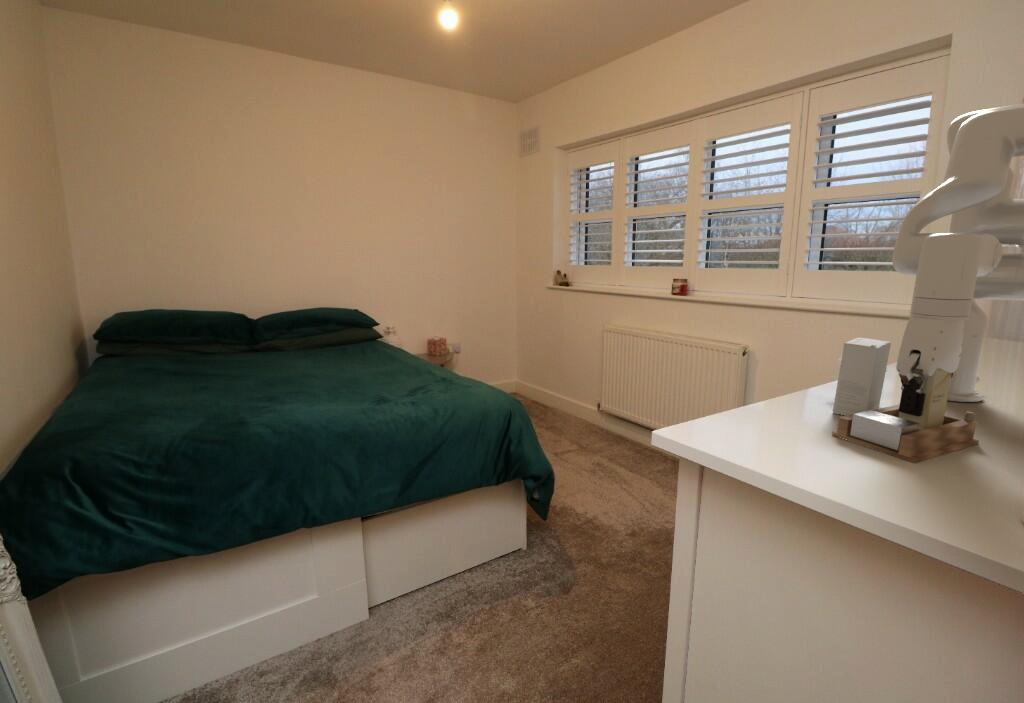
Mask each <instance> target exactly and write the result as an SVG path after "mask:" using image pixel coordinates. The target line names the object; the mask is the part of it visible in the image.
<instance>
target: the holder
mask: <svg viewBox="0 0 1024 703" xmlns="http://www.w3.org/2000/svg"><path fill="white" fill-rule="evenodd" d="M899 406H900V403H899V404H896V405H891V406H886V407H881V408H879V409H876V410H872V411H876V412H880V413H883V414H887V415H891V416H894V417H899ZM975 416H976V413H975V412H974V411H973V412H972V411H965V412H964V418H962V417H958V416H955V415H949V414H946V413H945V415H944V421H943V425H941V426H937V427H933V428H929V429H925V430H922V431H918V432H914V433H910V434H906V435H902V436H901V441H900V447H899V450H895V449H891V448H888V447H885V446H882V445H879V444H876V443H873V442H870V441H867V440H864V439H861V438H858V437H854V436H851V435H850V432H851V426H852V419H853V414H852V415H848V416H843V415H842V416H840V417H839V419H838V424H837V430H836V431H832V433H831V435H832V436H833V435H834V436H833V437H836V436H837V437H836V438H839V437H841V438H840V439H842V438H844V439H843V440H845V439H847V440H846V441H848V440H850V441H849V442H851V441H853V442H852V443H854V442H855V443H854V444H857V443H858V444H857V445H860V444H861V445H860V446H863V445H864V446H863V447H865V446H868V447H870V449H871V448H873V449H872V450H874V449H876V450H875V451H877V450H879V451H878V452H880V451H882V452H881V453H883V452H885V453H884V454H886V453H887V454H886V455H889V454H890V456H893V457H895V456H896V458H899V459H902V460H905V461H907V462H910V463H914V464H916V463H919V462H922V461H925V460H929V459H931V458H936V457H939V456H942V455H944V454H945V455H946V454H948V453H951V452H955V451H958V450H962V449H965V448H968V447H971V446H976V445H978V444H979V442H980V440H979V439H976V438H974V436H975V430H976V426H977V421H975ZM868 447H867V448H868Z"/></svg>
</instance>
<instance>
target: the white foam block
mask: <svg viewBox="0 0 1024 703" xmlns="http://www.w3.org/2000/svg"><path fill="white" fill-rule="evenodd" d="M919 426H920V423H917V422H913V421H909V420H906V419H902V418H898V417H894V416H891V415H887V414H883V413H880V412H876V411H872V410H870V411H865V412H860V413H856V414H853V419H852V426H851V432H850V435H851V436H854V437H858V438H861V439H864V440H867V441H870V442H873V443H876V444H879V445H882V446H885V447H888V448H891V449H895V450H899V447H900V441H901V436H902V435H906V434H910V433H914V432H918V431H919Z"/></svg>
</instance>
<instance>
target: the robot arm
mask: <svg viewBox="0 0 1024 703" xmlns="http://www.w3.org/2000/svg"><path fill="white" fill-rule="evenodd" d="M946 132H947V133H946V134H947V135H946V143H947V144H946V145H947V148H948V153H949V160H948V163H947V166H946V171H945V174H944V178H943V182H942V184H941V185H940V186H938V187H936V188H934V189H933V190H931V191H930V192H929V193H927V194H926V195H924V196H923V197H922V198H921V199H920V200H918V201H917V202H916V203H915V204H914V205H913V206H912V207H911V208H910V209H909V210H908V212H907V213H906V214H905V215H904V218H903V220H902V221H901V224H900V226H899V230H898V234H897V237H896V241H895V243H894V247H893V250H892V258H891V259H892V266H893V269H894V270H895V271H896V272H897V273H898V274H901V275H904V276H915V283H914V288H913V293H912V300H911V306H910V311H909V316H910V317H909V319H908V321H907V323H906V326H905V329H904V332H903V335H902V339H901V344H900V347H899V351H898V356H897V361H896V367H895V368H896V371H897V372H898V376H899V378H900V383H901V386H900V388H901V395H900V400H899V404H900V406H899V411H900V412H902V413H906V414H910V415H914V416H921V415H922V411H923V406H924V400H925V395H926V394H924V393H923V391H924V388H925V386H926V383H927V381H928V378H929V377H933V376H934V373H935V371H936V368H937V367H939V368H941V369H943V370H945V371H947V372H949V373H952V375H951V381H950V386H949V392H948V398H947V401H950V402H961V403H976V402H977V403H978V402H981V401H983V397H984V395H983V393H981V392H979V391H977V390H975V388H976V384H978V383H979V382H980V381H981V380H980V377H979V376H978V373H979V368H980V363H981V358H982V352H983V348H984V343H985V338H986V334H987V329H988V328H987V327H988V324H989V322H988V316H987V314H986V313H985V311H984V310H983V309H982V308H981V307H980V306H979V305H978V304H977V303H976V300H984V299H985V300H1001V301H1002V300H1003V301H1024V198H1012V197H1011V192H1012V188H1013V184H1014V178H1015V173H1014V170H1013V169H1012V168H1011V164H1012V158H1015V157H1024V103H1021V104H1019V103H1018V104H1013V105H1012V104H1011V105H1006V106H1005V105H1004V106H999V107H992V108H986V109H980V110H976V111H971V112H967V113H965V114H962V115H960V116H957V117H956V118H955V119H953V120H952V121H951V123H950V124H949V125H948V129H947V131H946ZM946 216H947V217H948V216H951V219H950V226H949V232H925V233H924V232H923V233H921V231H922V230H923V229H925V228H926V227H927V226H928V225H930V224H931V223H933V222H935V221H937V220H939V219H942V218H944V217H946ZM1004 247H1007V248H1008V247H1011V248H1012V247H1014V248H1017V249H1019V250H1020V253H1007V252H1006V253H1005V252H1003V250H1004V249H1003V248H1004ZM914 370H918V371H923V373H922V374H923V375H922V374H916V373H913V372H914ZM914 378H918V379H920V381H919V384H918V383H917V381H916V379H914Z"/></svg>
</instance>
